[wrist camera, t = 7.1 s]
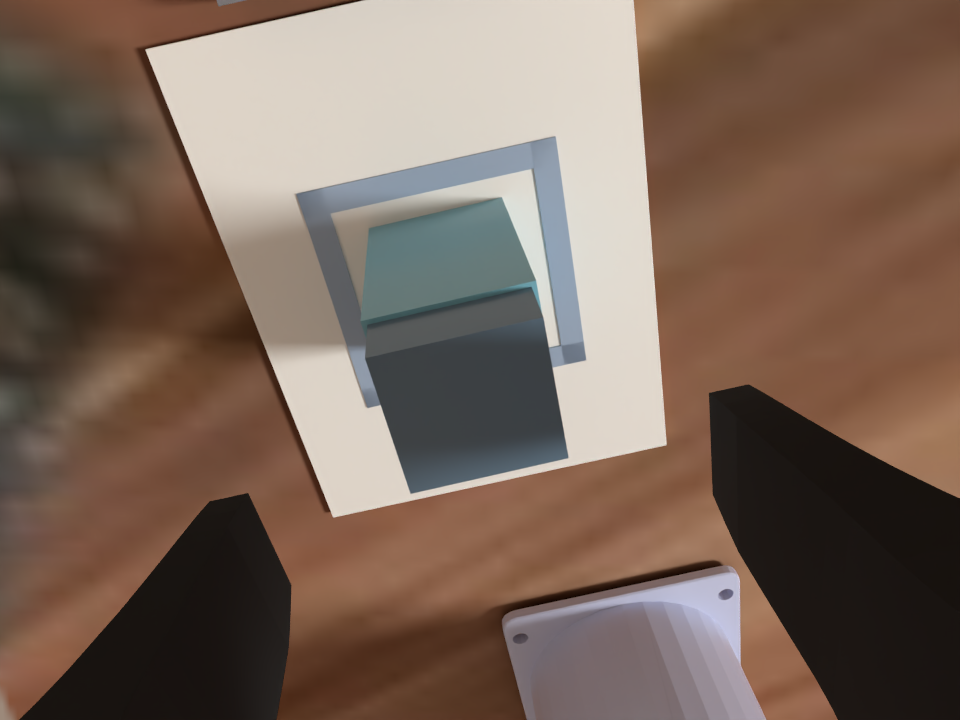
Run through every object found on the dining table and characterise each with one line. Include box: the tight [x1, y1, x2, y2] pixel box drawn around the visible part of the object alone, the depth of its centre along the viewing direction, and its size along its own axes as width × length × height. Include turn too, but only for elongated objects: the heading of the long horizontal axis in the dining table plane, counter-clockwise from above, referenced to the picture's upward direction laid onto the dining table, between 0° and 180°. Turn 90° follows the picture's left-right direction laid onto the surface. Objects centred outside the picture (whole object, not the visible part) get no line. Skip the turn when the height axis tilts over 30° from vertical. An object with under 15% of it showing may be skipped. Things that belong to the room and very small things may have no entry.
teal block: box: [360, 197, 569, 494], centre depth 15 cm, size 3×3×6 cm
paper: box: [145, 0, 666, 517], centre depth 18 cm, size 13×10×1 cm
